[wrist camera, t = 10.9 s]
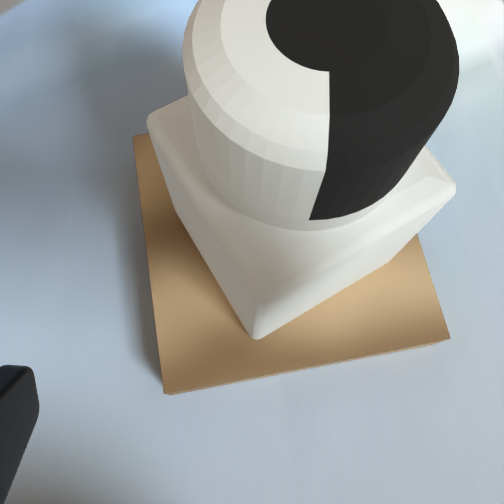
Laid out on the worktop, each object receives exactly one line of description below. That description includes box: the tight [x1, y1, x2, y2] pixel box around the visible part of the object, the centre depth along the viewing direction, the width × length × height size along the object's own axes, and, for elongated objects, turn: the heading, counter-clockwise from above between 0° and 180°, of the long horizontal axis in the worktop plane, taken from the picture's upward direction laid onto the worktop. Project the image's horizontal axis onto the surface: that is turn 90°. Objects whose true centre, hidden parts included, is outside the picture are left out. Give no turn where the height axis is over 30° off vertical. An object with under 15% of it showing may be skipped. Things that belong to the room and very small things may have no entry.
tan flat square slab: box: [133, 134, 450, 395], centre depth 22 cm, size 12×12×2 cm
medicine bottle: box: [146, 0, 459, 340], centre depth 15 cm, size 7×7×12 cm
